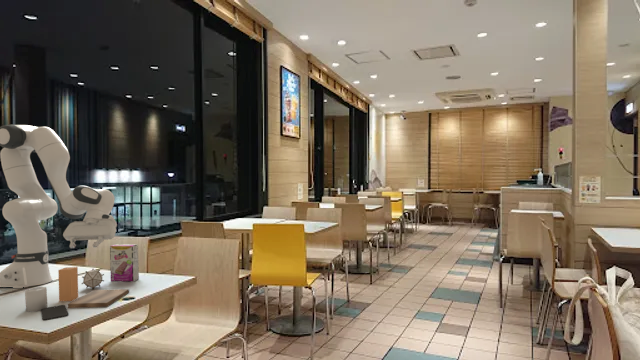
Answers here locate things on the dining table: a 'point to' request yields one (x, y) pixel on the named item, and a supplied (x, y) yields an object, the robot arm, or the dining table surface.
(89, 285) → the spiked faceted ball
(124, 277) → the candy bar box
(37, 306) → the white rounded cube
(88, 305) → the walnut board
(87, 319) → the dining table surface
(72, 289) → the orange block
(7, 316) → the dining table surface
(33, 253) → the robot arm
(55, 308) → the phone
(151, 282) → the dining table surface
